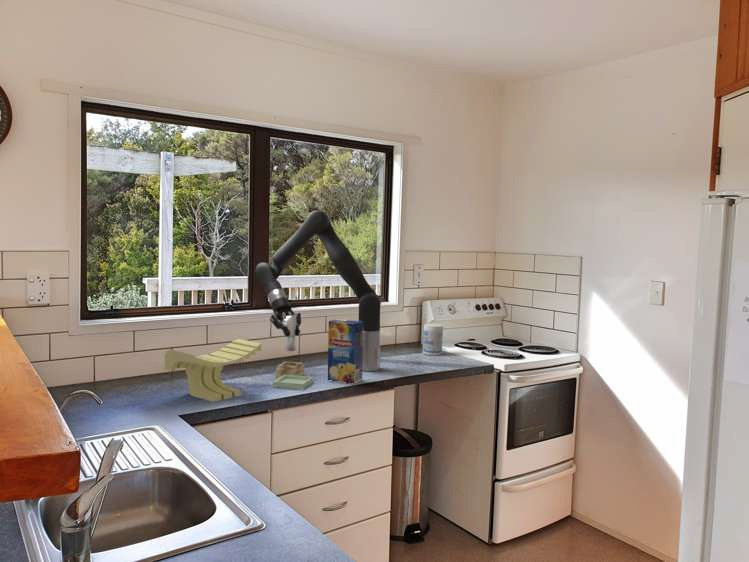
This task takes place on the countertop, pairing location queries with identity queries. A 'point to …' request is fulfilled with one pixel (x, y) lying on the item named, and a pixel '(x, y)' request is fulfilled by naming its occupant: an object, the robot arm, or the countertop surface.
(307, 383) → the tray
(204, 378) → the slatted curved stool
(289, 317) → the translucent grey cylinder
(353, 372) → the juice carton
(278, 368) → the bracket block
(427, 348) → the supplement tub
